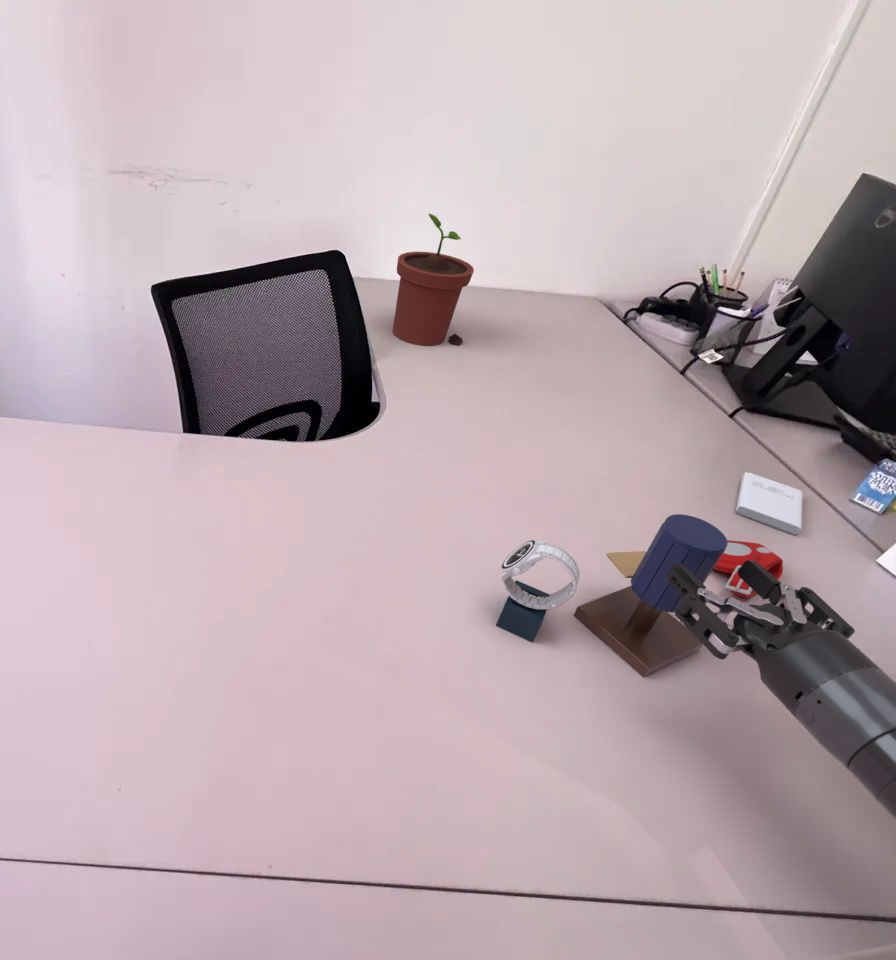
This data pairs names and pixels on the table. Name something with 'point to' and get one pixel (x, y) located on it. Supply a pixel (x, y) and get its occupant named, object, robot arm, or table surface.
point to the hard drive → (770, 503)
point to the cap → (671, 559)
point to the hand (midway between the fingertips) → (708, 567)
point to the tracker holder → (738, 555)
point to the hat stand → (638, 630)
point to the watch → (532, 589)
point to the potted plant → (429, 294)
